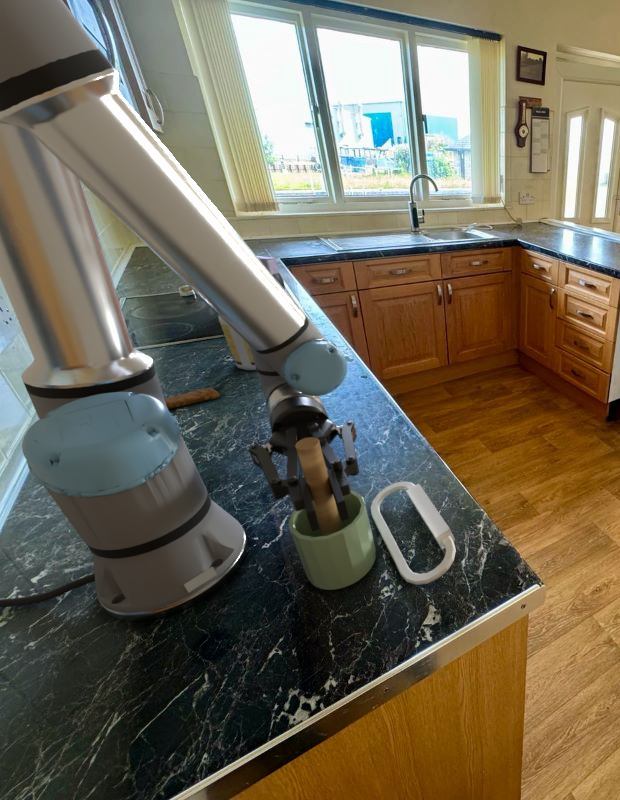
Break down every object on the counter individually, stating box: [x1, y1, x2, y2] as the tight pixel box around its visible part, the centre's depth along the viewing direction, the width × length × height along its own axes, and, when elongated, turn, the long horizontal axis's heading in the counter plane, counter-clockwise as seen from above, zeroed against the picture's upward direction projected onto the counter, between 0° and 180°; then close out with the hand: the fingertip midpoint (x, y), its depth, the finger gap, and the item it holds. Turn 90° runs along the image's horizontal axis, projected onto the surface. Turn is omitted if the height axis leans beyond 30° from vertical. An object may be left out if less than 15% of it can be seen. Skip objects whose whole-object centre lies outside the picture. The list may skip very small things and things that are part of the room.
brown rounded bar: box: [164, 387, 221, 410], centre depth 88 cm, size 19×6×4 cm, turn 143°
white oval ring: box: [370, 481, 457, 586], centre depth 61 cm, size 20×8×4 cm, turn 35°
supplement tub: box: [217, 315, 257, 371], centre depth 106 cm, size 12×12×17 cm
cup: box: [288, 490, 377, 591], centre depth 55 cm, size 9×9×9 cm
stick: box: [295, 437, 342, 536], centre depth 51 cm, size 2×2×16 cm
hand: (328, 515), depth 47 cm, fingers closed on stick, 2 cm apart
